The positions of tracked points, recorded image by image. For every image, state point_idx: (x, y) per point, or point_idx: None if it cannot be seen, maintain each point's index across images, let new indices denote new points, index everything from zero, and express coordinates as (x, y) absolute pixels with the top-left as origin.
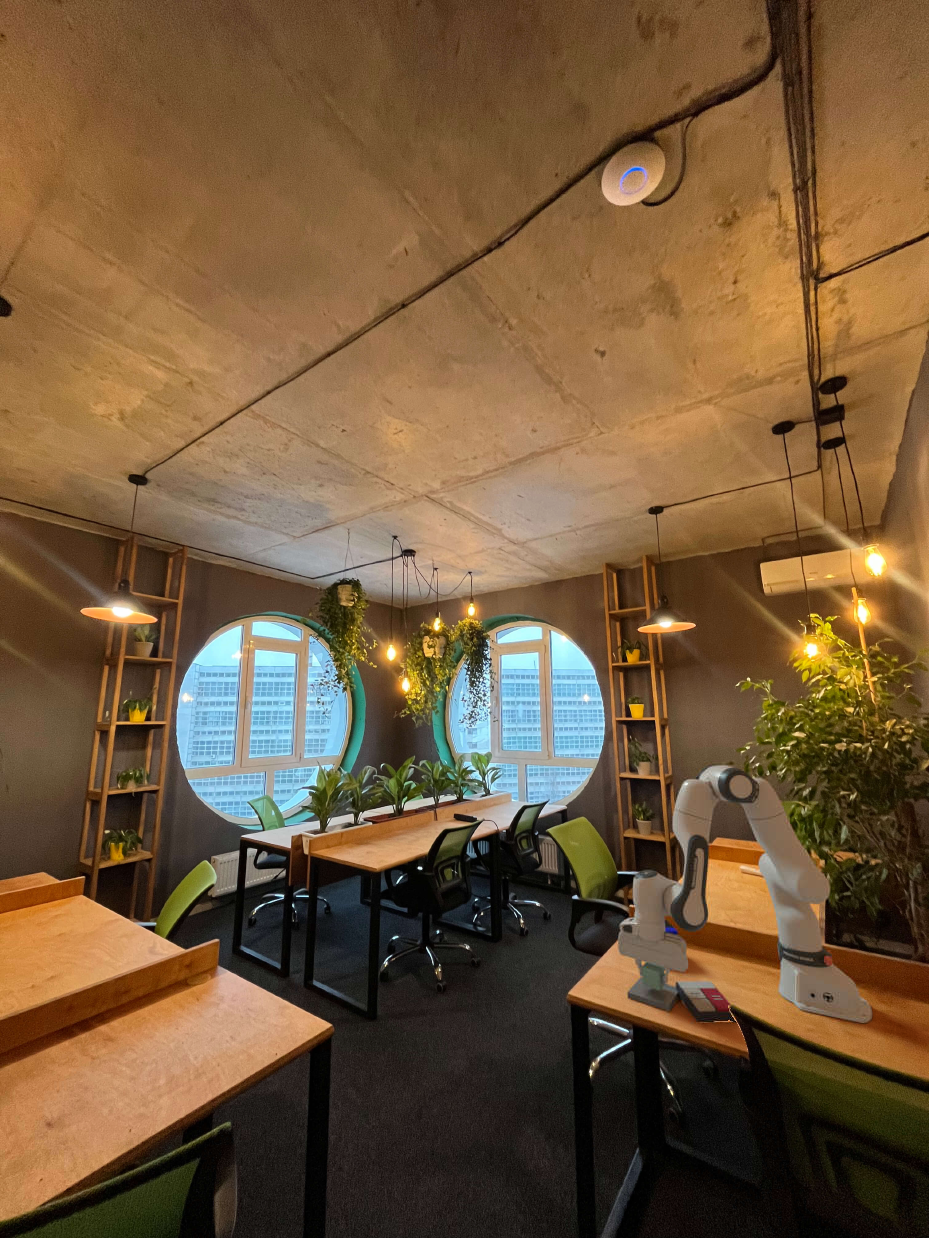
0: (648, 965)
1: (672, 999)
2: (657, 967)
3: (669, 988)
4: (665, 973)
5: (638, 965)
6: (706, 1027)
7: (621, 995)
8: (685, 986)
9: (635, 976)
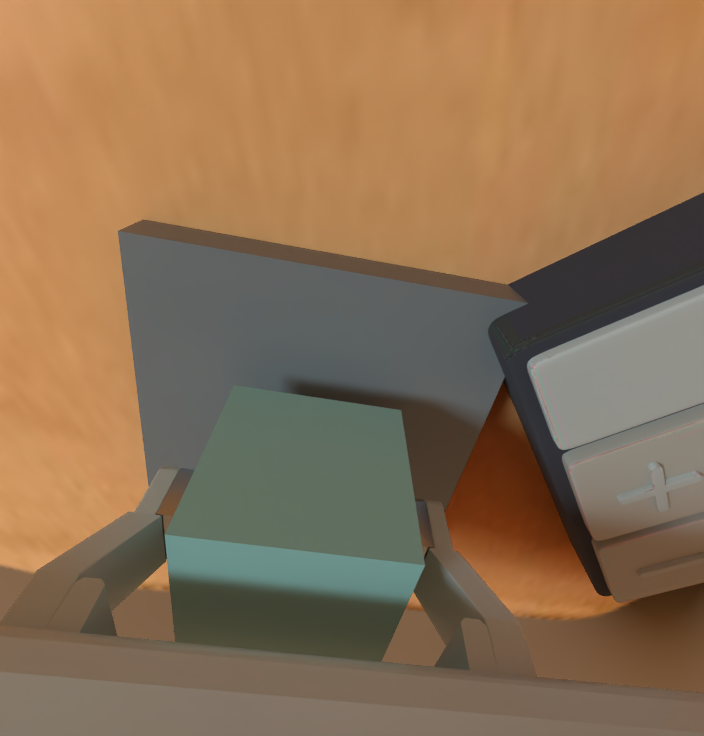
0: (230, 618)
1: (451, 487)
2: (345, 618)
3: (428, 352)
4: (441, 631)
5: (114, 599)
6: None
7: (122, 483)
8: (598, 417)
9: (34, 125)
